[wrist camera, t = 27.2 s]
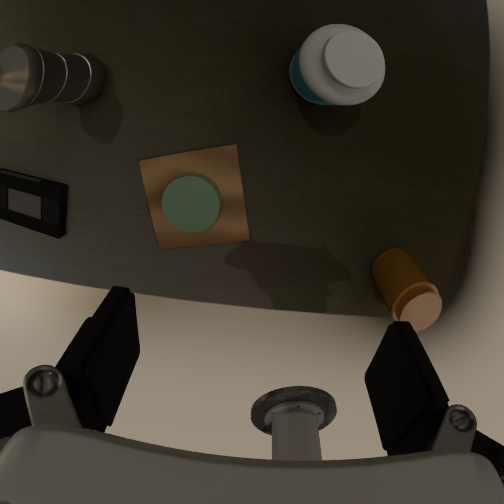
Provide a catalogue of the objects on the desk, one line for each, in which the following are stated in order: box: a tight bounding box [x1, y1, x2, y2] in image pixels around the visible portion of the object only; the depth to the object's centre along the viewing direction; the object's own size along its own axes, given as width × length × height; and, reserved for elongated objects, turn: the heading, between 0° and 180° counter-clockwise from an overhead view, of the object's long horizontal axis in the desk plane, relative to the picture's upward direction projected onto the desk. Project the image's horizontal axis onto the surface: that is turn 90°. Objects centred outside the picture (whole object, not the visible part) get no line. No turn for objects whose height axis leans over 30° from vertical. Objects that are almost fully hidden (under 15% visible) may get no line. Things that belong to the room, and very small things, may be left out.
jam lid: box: [162, 172, 222, 232], centre depth 37 cm, size 7×7×2 cm
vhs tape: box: [0, 169, 68, 239], centre depth 37 cm, size 8×14×2 cm, turn 73°
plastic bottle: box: [0, 43, 106, 112], centre depth 22 cm, size 6×7×20 cm
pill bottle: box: [289, 24, 385, 105], centre depth 25 cm, size 8×7×14 cm
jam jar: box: [372, 248, 442, 332], centre depth 37 cm, size 6×6×11 cm
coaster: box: [139, 144, 250, 250], centre depth 38 cm, size 12×12×1 cm
